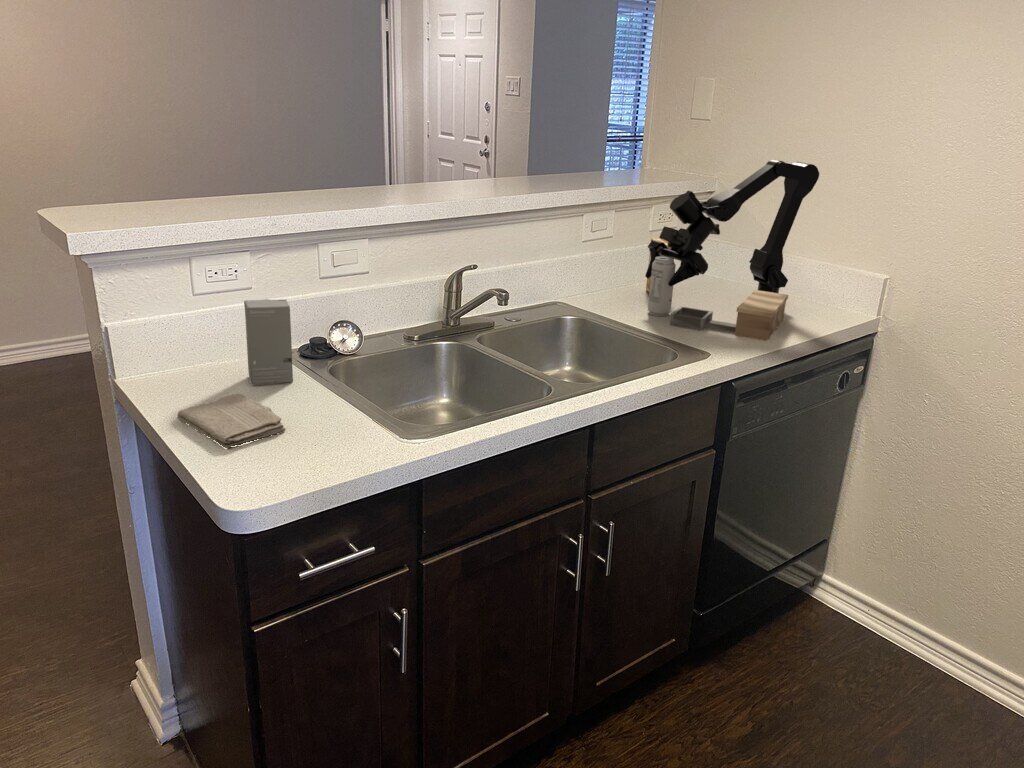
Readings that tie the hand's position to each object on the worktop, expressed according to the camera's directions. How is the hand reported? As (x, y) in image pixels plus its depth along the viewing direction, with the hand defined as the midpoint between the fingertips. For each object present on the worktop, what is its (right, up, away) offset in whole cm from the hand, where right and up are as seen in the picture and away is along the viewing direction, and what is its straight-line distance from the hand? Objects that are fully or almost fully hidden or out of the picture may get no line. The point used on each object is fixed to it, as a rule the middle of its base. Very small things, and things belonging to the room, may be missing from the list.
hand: (657, 281), depth 209 cm
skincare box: (-86, -26, -49) cm, 102 cm away
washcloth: (-87, -35, -70) cm, 117 cm away
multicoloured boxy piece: (+18, -11, -2) cm, 21 cm away
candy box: (+4, -1, +24) cm, 24 cm away
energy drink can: (+1, -8, +4) cm, 9 cm away
